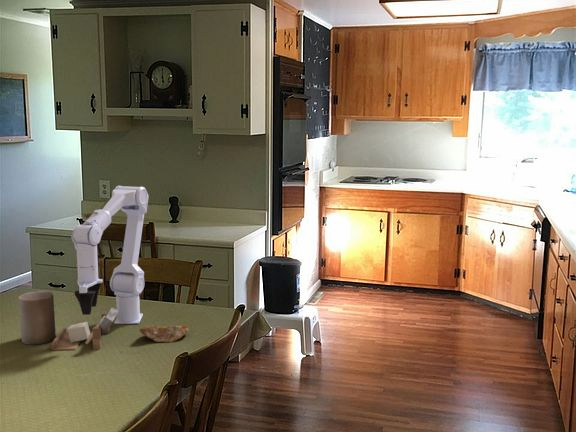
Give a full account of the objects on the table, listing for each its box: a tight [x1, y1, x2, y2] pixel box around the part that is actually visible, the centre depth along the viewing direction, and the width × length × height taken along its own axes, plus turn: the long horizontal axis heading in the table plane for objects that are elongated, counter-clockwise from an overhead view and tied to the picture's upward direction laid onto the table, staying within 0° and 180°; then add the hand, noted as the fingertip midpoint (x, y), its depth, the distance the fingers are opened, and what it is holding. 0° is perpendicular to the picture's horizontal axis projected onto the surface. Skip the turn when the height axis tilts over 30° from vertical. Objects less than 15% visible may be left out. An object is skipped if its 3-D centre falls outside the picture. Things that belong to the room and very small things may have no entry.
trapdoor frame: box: [50, 312, 111, 351], centre depth 188 cm, size 15×14×6 cm
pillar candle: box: [18, 290, 57, 345], centre depth 188 cm, size 10×10×15 cm
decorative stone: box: [139, 325, 190, 344], centre depth 192 cm, size 10×4×15 cm
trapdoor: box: [84, 306, 119, 345], centre depth 188 cm, size 11×10×3 cm
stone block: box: [66, 321, 91, 343], centre depth 188 cm, size 4×4×5 cm
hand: (89, 310), depth 187 cm, fingers open, 7 cm apart
